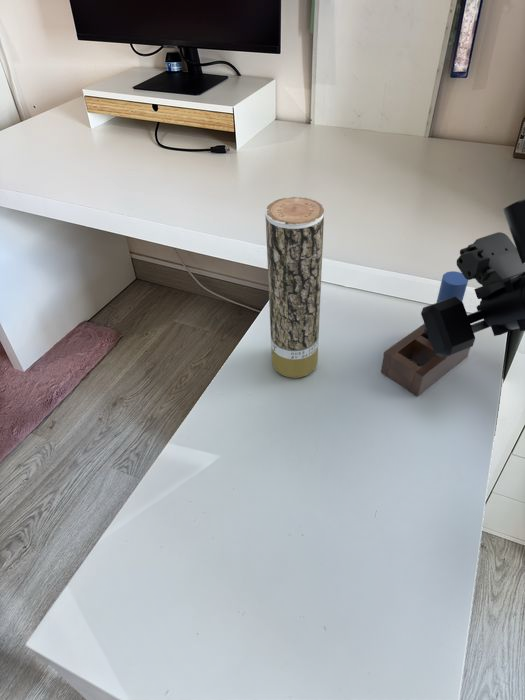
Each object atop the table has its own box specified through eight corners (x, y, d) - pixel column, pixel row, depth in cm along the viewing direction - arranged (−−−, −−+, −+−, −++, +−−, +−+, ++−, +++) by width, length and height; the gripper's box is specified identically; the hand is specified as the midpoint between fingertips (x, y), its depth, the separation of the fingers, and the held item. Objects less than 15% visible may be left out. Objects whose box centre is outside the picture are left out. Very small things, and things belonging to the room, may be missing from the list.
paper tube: (321, 352, 77) (329, 199, 60) (311, 384, 72) (316, 228, 55) (279, 345, 79) (274, 194, 62) (266, 375, 74) (257, 221, 57)
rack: (467, 356, 75) (474, 336, 72) (417, 396, 70) (422, 376, 67) (430, 335, 79) (435, 315, 76) (380, 371, 73) (383, 351, 71)
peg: (442, 365, 74) (464, 287, 64) (421, 358, 75) (439, 281, 66) (449, 352, 76) (471, 275, 66) (427, 345, 77) (446, 268, 68)
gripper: (580, 206, 57) (485, 246, 72) (448, 249, 52) (375, 283, 67) (613, 299, 57) (511, 320, 72) (484, 351, 52) (403, 362, 67)
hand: (452, 319), depth 69 cm, fingers open, 9 cm apart
